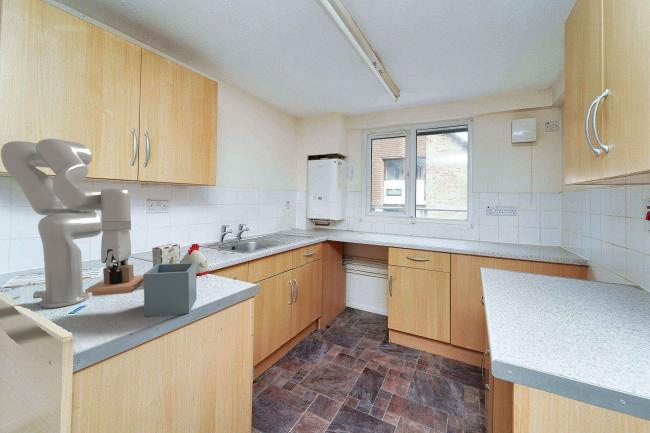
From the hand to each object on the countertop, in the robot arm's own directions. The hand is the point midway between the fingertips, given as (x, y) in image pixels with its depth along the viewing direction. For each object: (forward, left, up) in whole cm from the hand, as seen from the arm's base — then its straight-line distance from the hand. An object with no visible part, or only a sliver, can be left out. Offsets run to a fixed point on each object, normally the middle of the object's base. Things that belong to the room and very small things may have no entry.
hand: (119, 280), depth 89 cm
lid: (0, 0, -3) cm, 3 cm away
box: (+16, 0, -10) cm, 19 cm away
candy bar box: (+6, +32, -11) cm, 34 cm away
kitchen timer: (+15, +43, -11) cm, 46 cm away
